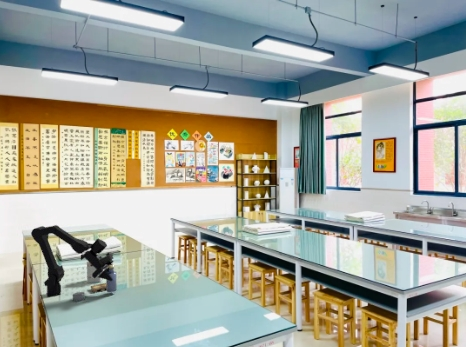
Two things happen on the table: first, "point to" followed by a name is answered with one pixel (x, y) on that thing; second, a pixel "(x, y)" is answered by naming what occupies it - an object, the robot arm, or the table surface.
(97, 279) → the small box
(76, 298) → the grey rounded block
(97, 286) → the dock
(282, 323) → the table surface
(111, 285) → the ink bottle
